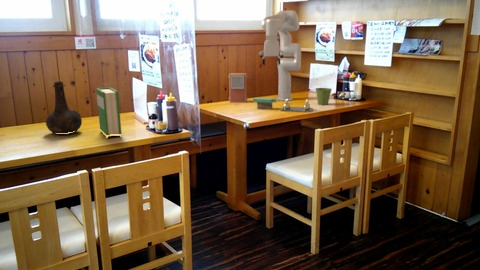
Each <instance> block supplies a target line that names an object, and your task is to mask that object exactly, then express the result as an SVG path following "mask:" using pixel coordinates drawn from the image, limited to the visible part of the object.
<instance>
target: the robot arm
mask: <svg viewBox="0 0 480 270" xmlns="http://www.w3.org/2000/svg"><path fill="white" fill-rule="evenodd" d="M260 25H261V29H262V30H263V31H264V32H265V40H264V43H263V44H264V45H263V49H262V50H259V52H258V55H259V57H260V58H261V59H262V65H263V66H265V65H266V59H265V58H266V57H277V58H278V59H277V71H278V72H277V73H278V74H277V75H278V81H277V82H278V85H277V86H278V87H277V88H278V96H277V97H276V98H275V99H277V101H283V102H284V101H285V100H287V99H288V101H292V100H293V98H294V97H291V96H292V91H291V89H292V76H291V74H290V72H299V71H300V70H301V68H302V67H301V66H302V64H301V63H302V47H301V44H300V43H296V42H295V43H292V35H291V33H290V32H296V31H298V30H299V29H300V20H299V16H298V14H297V12H296V11H295V10H292V9H291V10H288V9H287V10H280V11H278V12H277V13H276V14H273V15H270V16H269V15H268V16H266V17H264V18H263V19H262V21H261V24H260ZM278 35H279V36H278ZM262 53H263V55H262ZM290 57H291V58H290ZM293 57H294V58H293Z"/></svg>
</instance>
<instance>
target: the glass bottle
mask: <svg viewBox="0 0 480 270" xmlns="http://www.w3.org/2000/svg"><path fill="white" fill-rule="evenodd" d="M53 87H54V110H53V112H51V113H49V114H48V115H47V117H46V120H45V125H46V128H47V130H49V132H51V133H53V134H54V133H68V132H73V131H76V132H78V131H79V130H80V128H81V126H82V123H83V120H82V115H81V113H79V112H78V111H76V110H71V109H70V107H69V106H68V102H67V98H66V94H65V89H64V87H66V84H64V81H61V80H60V81H54V83H53V85H52V88H53ZM78 129H79V130H78ZM77 130H78V131H77Z"/></svg>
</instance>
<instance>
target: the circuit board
mask: <svg viewBox="0 0 480 270" xmlns="http://www.w3.org/2000/svg"><path fill="white" fill-rule="evenodd" d="M252 101H253V102H255V103H257V102H264V103H272V104H273V103H277V101H278V100H277V99H276V98H275V97H274V98H273V97H254V98H252Z"/></svg>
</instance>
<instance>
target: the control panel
mask: <svg viewBox="0 0 480 270" xmlns="http://www.w3.org/2000/svg"><path fill="white" fill-rule="evenodd" d="M227 78H228V80H229V81H228V83H229V97H228V98H227V99H228V100H229V103H233V104H234V103H247V102H248V100H249V97H248V96H247V95H248V89H247V88H248V87H247V86H248V85H247V83H248V82H247V81H248V80H247V78H249V75H247V73H245V72H244V73H243V72H240V73H239V72H238V73H237V72H234V73H233V72H231V73H229V74H228V76H227Z"/></svg>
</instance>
